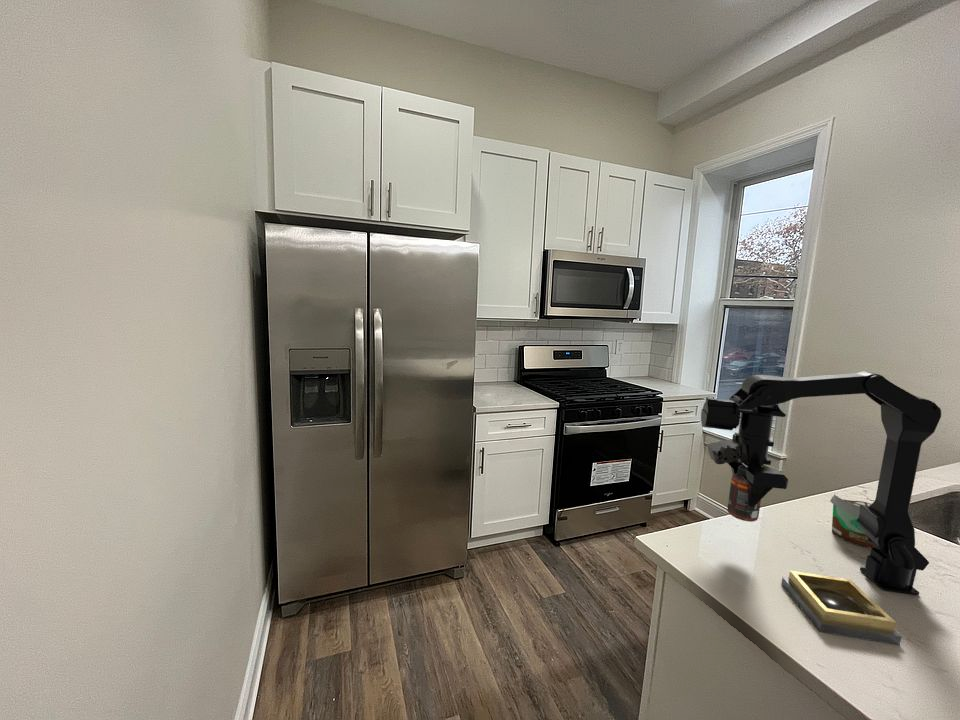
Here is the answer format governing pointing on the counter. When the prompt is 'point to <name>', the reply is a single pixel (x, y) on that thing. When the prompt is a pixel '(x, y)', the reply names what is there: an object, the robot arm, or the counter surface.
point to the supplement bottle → (741, 498)
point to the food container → (848, 521)
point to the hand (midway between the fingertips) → (744, 499)
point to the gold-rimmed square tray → (840, 607)
